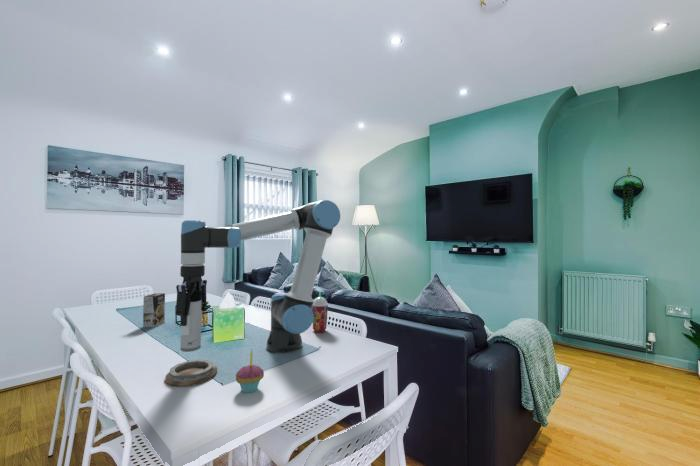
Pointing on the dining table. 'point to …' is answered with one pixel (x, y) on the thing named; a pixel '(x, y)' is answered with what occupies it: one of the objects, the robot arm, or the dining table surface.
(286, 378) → the dining table surface
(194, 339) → the travel mug
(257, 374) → the cupcake
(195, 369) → the plate
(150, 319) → the coffee box
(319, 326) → the smoothie
